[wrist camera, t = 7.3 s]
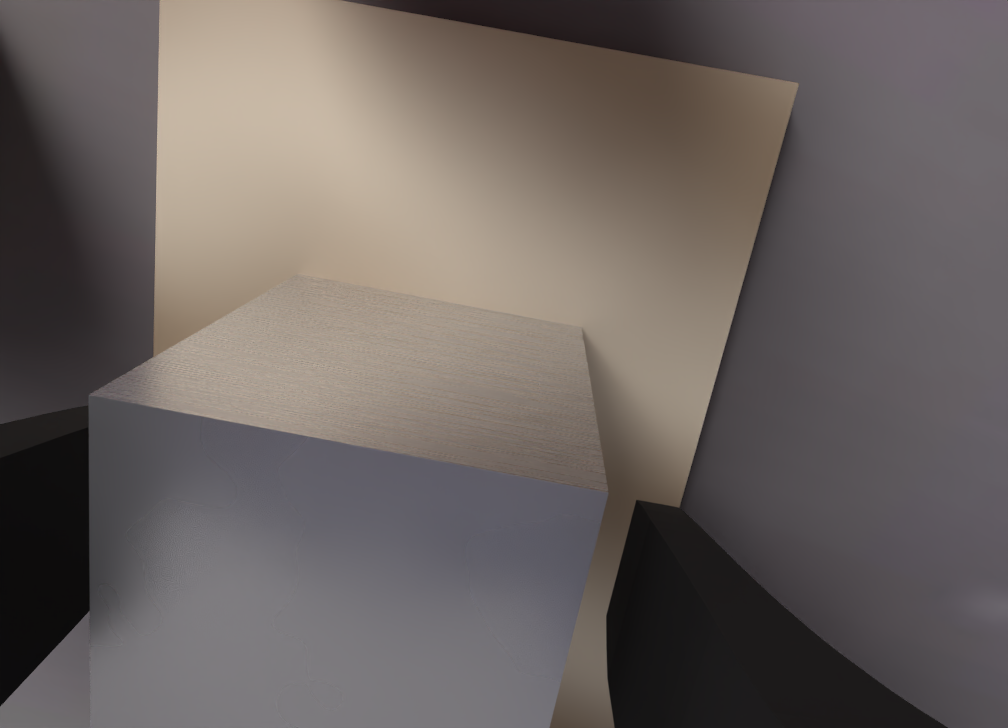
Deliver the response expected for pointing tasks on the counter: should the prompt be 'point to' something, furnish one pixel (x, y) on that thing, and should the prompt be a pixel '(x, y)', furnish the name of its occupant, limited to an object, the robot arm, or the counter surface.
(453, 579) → the brushed gray cube
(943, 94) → the counter surface
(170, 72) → the board
